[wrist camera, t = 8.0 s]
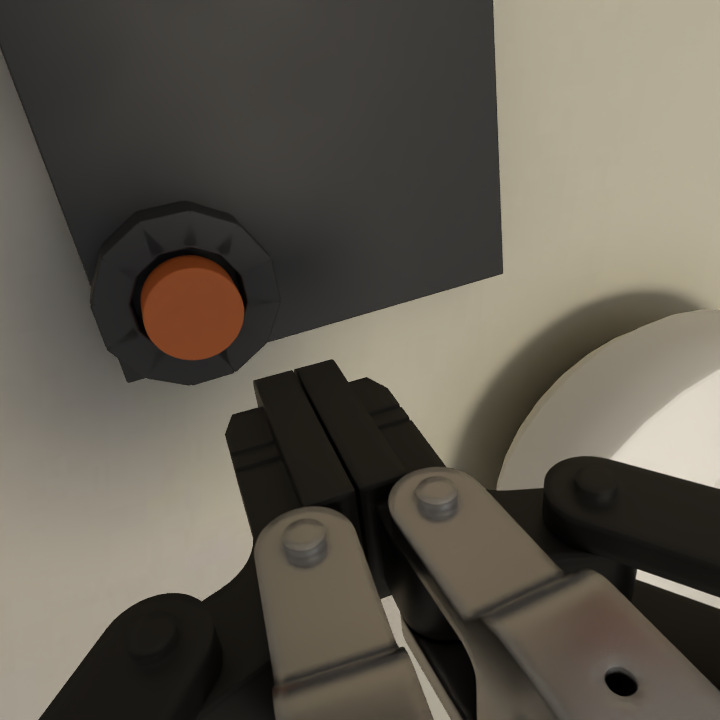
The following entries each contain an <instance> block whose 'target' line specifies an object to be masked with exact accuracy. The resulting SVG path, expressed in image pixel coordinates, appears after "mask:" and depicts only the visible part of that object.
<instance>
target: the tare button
mask: <svg viewBox="0 0 720 720" xmlns="http://www.w3.org/2000/svg"><path fill="white" fill-rule="evenodd" d="M140 303H141V310H142V317H143V323H144V327H145V330H146V332H147V335H148V336H149V338H150V339H151V341H152V342H153V343H154V344H155V345H156V346H157V347H158V348H159V349H160V350H162V351H163V352H164V353H166V354H168V355H170V356H173V357H175V358H179V359H184V360H202V359H206V358H209V357H212V356H215V355H217V354H219V353H220V352H222V351H224V350H225V349H226V348H227V347H229V346H230V345H231V344H232V342H233V341H234V340H235V339H236V337H237V336H238V334H239V332H240V330H241V328H242V325H243V320H244V305H243V301H242V298H241V295H240V293H239V291H238V289H237V288H236V286H235V284H234V282H233V281H232V279H231V277H230V276H229V274H228V273H227V272H226V271H225V270H224V269H223V268H222V267H221V266H220V265H219V264H217V263H216V262H214V261H212V260H210V259H208V258H204V257H201V256H196V255H183V256H177V257H174V258H171V259H168V260H166V261H164V262H163V263H161V264H159V265H158V266H157V267H156V268H155V269H153V271H152V272H151V273H150V274H149V275H148V277H147V278H146V280H145V282H144V284H143V287H142V291H141V298H140Z"/></svg>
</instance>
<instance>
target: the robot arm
mask: <svg viewBox="0 0 720 720" xmlns="http://www.w3.org/2000/svg"><path fill="white" fill-rule="evenodd" d="M253 384H254V390H255V395H256V399H257V403H258V408H255V409H251V410H247V411H244V412H240V413H237V414H233V415H232V417H231V419H230V422H229V425H228V428H227V430H226V433H225V436H226V440H227V444H228V447H229V451H230V455H231V459H232V463H233V466H234V470H235V474H236V478H237V481H238V485H239V489H240V493H241V496H242V500H243V504H244V507H245V511H246V514H247V518H248V522H249V525H250V529H251V533H252V536H253V548H252V552H251V555H250V557H249V559H248V561H247V563H246V564H245V566H244V568H243V569H242V570H241V571H240V572H239V574H238V575H237V576H236V577H235V578H234V579H233V580H232V581H231V582H229V583H228V584H227V585H225V586H224V587H223V588H221V589H220V590H218V591H217V592H215V593H214V594H212V595H211V596H209V597H208V598H206V599H205V600H203V601H200V600H198V599H196V598H195V597H192V596H189V595H186V594H180V593H167V594H161V595H156V596H153V597H150V598H147V599H145V600H142V601H140V602H138V603H136V604H135V605H133V606H131V607H130V608H128V609H127V610H125V611H124V612H123V613H121V614H120V615H119V616H118V617H117V618H116V619H115V620H114V621H113V622H112V623H111V624H110V625H109V627H108V628H107V629H106V630H105V632H104V633H103V634H102V636H101V637H100V638H99V640H98V641H97V642H96V644H95V645H94V646H93V648H92V649H91V650H90V652H89V653H88V654H87V656H86V657H85V658H84V660H83V661H82V662H81V664H80V665H79V666H78V668H77V669H76V670H75V672H74V673H73V674H72V676H71V677H70V678H69V680H68V681H67V682H66V684H65V685H64V686H63V688H62V689H61V690H60V692H59V693H58V694H57V696H56V697H55V698H54V700H53V701H52V702H51V704H50V705H49V706H48V708H47V709H46V710H45V712H44V713H43V714H42V716H41V717H40V718H39V720H434V719H433V716H432V714H431V711H430V708H429V706H428V703H427V701H426V698H425V695H424V693H423V690H422V687H421V685H420V682H419V679H418V677H417V674H416V671H415V669H414V666H413V664H412V661H411V659H410V657H409V655H408V653H407V651H406V650H405V648H404V647H400V648H399V647H398V645H397V643H396V641H395V638H394V636H393V633H392V630H391V627H390V625H389V622H388V619H387V616H386V614H385V611H384V608H383V605H382V603H381V600H380V599H382V598H385V597H387V596H390V595H392V596H393V598H394V600H395V602H396V604H397V606H398V608H399V610H400V615H401V625H402V632H403V636H404V638H405V640H406V643H407V644H408V646H409V648H410V650H411V651H412V653H413V655H414V656H415V658H416V660H417V662H418V663H419V665H420V667H421V669H422V670H423V672H424V674H425V675H426V677H427V679H428V681H429V682H430V684H431V686H432V688H433V689H434V691H435V693H436V695H437V696H438V698H439V700H440V701H441V703H442V705H443V707H444V708H445V710H446V712H447V714H448V715H449V717H450V719H451V720H720V609H719V608H716V607H713V606H710V605H707V604H704V603H702V602H699V601H696V600H693V599H690V598H688V597H685V596H682V595H679V594H676V593H674V592H671V591H668V590H665V589H662V588H659V587H657V586H654V585H651V584H648V583H645V582H643V581H640V580H637V579H636V574H637V569H638V570H641V571H644V572H647V573H650V574H653V575H656V576H659V577H661V578H664V579H667V580H670V581H673V582H676V583H679V584H682V585H684V586H687V587H690V588H693V589H696V590H699V591H702V592H705V593H707V594H710V595H713V596H716V597H719V598H720V489H718V488H714V487H710V486H707V485H703V484H699V483H696V482H692V481H688V480H685V479H681V478H677V477H673V476H670V475H666V474H662V473H659V472H655V471H651V470H648V469H644V468H640V467H636V466H633V465H629V464H625V463H622V462H618V461H614V460H611V459H606V458H602V457H595V456H579V457H572V458H568V459H565V460H562V461H560V462H558V463H557V464H555V465H554V466H553V467H551V468H550V469H549V471H548V472H547V473H546V476H545V478H544V488H534V489H520V490H488V489H485V488H484V487H483V486H482V485H481V484H480V483H479V482H478V481H477V480H476V479H475V478H474V477H472V476H470V475H469V474H467V473H465V472H463V471H460V470H457V469H454V468H448V467H446V466H445V465H444V463H443V462H442V461H441V459H440V458H439V457H438V455H437V454H436V453H435V451H434V450H433V449H432V447H431V446H430V445H429V443H428V442H427V441H426V439H425V438H424V437H423V435H422V434H421V432H420V431H419V430H418V428H417V427H416V426H415V424H414V423H413V422H412V420H409V416H408V415H407V414H406V412H405V411H404V410H403V408H402V407H400V406H399V403H398V402H397V400H396V399H395V398H394V396H393V395H392V394H391V392H390V391H389V390H388V388H386V387H384V386H382V385H380V384H379V383H377V382H375V381H373V380H371V379H369V378H367V377H366V378H362V379H358V380H355V381H351V382H348V381H347V380H346V378H345V376H344V375H343V373H342V372H341V370H340V369H339V367H338V366H337V364H336V363H335V361H334V360H332V359H331V360H328V361H324V362H320V363H316V364H313V365H309V366H305V367H301V368H298V369H295V370H294V372H293V371H292V370H291V371H287V372H283V373H280V374H276V375H272V376H268V377H265V378H261V379H257V380H253Z"/></svg>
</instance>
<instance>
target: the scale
mask: <svg viewBox="0 0 720 720" xmlns="http://www.w3.org/2000/svg"><path fill="white" fill-rule="evenodd" d="M0 48H1V50H2V53H3V56H4V58H5V61H6V63H7V66H8V69H9V71H10V74H11V77H12V79H13V82H14V85H15V87H16V90H17V93H18V95H19V98H20V100H21V103H22V106H23V108H24V111H25V114H26V116H27V119H28V122H29V124H30V127H31V130H32V132H33V135H34V137H35V140H36V143H37V145H38V148H39V151H40V153H41V156H42V159H43V161H44V164H45V167H46V169H47V172H48V174H49V177H50V180H51V182H52V185H53V188H54V190H55V193H56V196H57V198H58V201H59V204H60V206H61V209H62V211H63V214H64V217H65V219H66V222H67V225H68V227H69V230H70V233H71V235H72V238H73V241H74V243H75V246H76V248H77V251H78V254H79V256H80V259H81V262H82V264H83V267H84V270H85V272H86V275H87V278H88V280H89V283H90V285H91V295H90V303H91V310H92V312H93V315H94V318H95V320H96V323H97V325H98V328H99V330H100V333H101V336H102V338H103V341H104V343H105V346H106V347H107V350H108V351H109V352H111V353H112V354H113V355H114V356H116V357H117V358H118V359H119V362H120V365H121V367H122V370H123V373H124V375H125V378H126V381H127V382H128V383H130V382H133V381H137V380H140V379H144V378H147V379H153V380H159V381H165V382H171V383H177V384H183V385H196V384H199V383H202V382H206V381H209V380H212V379H216V378H219V377H222V376H226V375H229V374H232V373H234V371H235V372H236V371H238V370H239V369H240V368H241V367H242V366H243V365H244V364H245V363H246V362H247V361H248V360H249V359H250V358H251V357H252V356H253V355H255V354H256V353H257V352H258V351H259V350H260V349H261V348H262V347H263V346H264V345H265V344H266V343H267V342H270V341H274V340H277V339H281V338H284V337H288V336H291V335H294V334H298V333H301V332H305V331H308V330H312V329H315V328H318V327H322V326H325V325H329V324H332V323H336V322H339V321H342V320H346V319H349V318H353V317H356V316H360V315H363V314H366V313H370V312H373V311H377V310H380V309H384V308H387V307H390V306H394V305H397V304H401V303H404V302H408V301H411V300H414V299H418V298H421V297H425V296H428V295H432V294H435V293H438V292H442V291H445V290H449V289H452V288H456V287H459V286H462V285H466V284H469V283H473V282H476V281H480V280H483V279H486V278H490V277H493V276H497V275H500V274H503V257H502V231H501V204H500V178H499V151H498V124H497V98H496V71H495V45H494V18H493V0H0ZM183 255H196V256H201V257H204V258H208V259H210V260H212V261H214V262H216V263H217V264H219V265H220V266H221V267H222V268H223V269H224V270H225V271H226V272H227V273H228V274H229V276H230V277H231V279H232V281H233V282H234V284H235V286H236V288H237V289H238V291H239V293H240V295H241V298H242V301H243V305H244V320H243V325H242V328H241V330H240V332H239V334H238V336H237V337H236V339H235V340H234V341H233V342H232V344H231V345H230V346H229V347H227V348H226V349H225V350H224V351H222V352H220V353H219V354H217V355H215V356H212V357H209V358H206V359H202V360H184V359H179V358H175V357H173V356H170V355H168V354H166V353H164V352H163V351H162V350H160V349H159V348H158V347H157V346H156V345H155V344H154V343H153V342H152V341H151V339H150V338H149V336H148V335H147V332H146V330H145V327H144V323H143V317H142V310H141V303H140V298H141V291H142V287H143V284H144V282H145V280H146V278H147V277H148V275H149V274H150V273H151V272H152V271H153V269H155V268H156V267H157V266H158V265H159V264H161V263H163V262H164V261H166V260H168V259H171V258H174V257H177V256H183Z"/></svg>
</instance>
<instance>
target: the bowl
mask: <svg viewBox="0 0 720 720" xmlns="http://www.w3.org/2000/svg"><path fill="white" fill-rule="evenodd" d="M579 456H595V457H602V458H606V459H611V460H614V461H618V462H622V463H625V464H629V465H633V466H636V467H640V468H644V469H648V470H651V471H655V472H659V473H662V474H666V475H670V476H673V477H677V478H681V479H685V480H688V481H692V482H696V483H699V484H703V485H707V486H710V487H714V488H718V489H720V310H709V309H703V310H697V311H691V312H685V313H679V314H673V315H670V316H668V317H665V318H663V319H660V320H657V321H655V322H652V323H650V324H647V325H644V326H642V327H639V328H637V329H636V330H634V331H632V332H629V333H626V334H624V335H621V336H619V337H616V338H614V339H612V340H611V341H609V342H607V343H606V344H604V345H602V346H601V347H599V348H597V349H596V350H594V351H592V352H590V353H589V354H587V355H586V356H585V357H584V358H582V359H581V360H580V361H579V362H577V363H576V364H575V365H574V366H573V367H571V368H570V369H569V370H568V371H566V372H565V373H564V374H563V375H562V376H561V377H560V378H559V379H558V380H557V381H556V382H555V383H554V384H553V385H552V386H551V387H550V388H549V390H548V391H547V392H546V393H545V394H544V395H543V396H542V397H541V398H540V399H539V400H538V402H537V403H536V405H535V406H534V408H533V409H532V410H531V412H530V413H529V415H528V416H527V418H526V419H525V420H524V422H523V423H522V425H521V426H520V428H519V430H518V432H517V434H516V436H515V438H514V440H513V442H512V444H511V446H510V448H509V450H508V452H507V454H506V456H505V459H504V462H503V466H502V469H501V472H500V475H499V478H498V482H497V488H496V490H520V489H534V488H544V478H545V476H546V473H547V472H548V471H549V469H550V468H551V467H553V466H554V465H555V464H557V463H558V462H560V461H562V460H565V459H568V458H572V457H579ZM636 579H637V580H640V581H643V582H645V583H648V584H651V585H654V586H657V587H659V588H662V589H665V590H668V591H671V592H674V593H676V594H679V595H682V596H685V597H688V598H690V599H693V600H696V601H699V602H702V603H704V604H707V605H710V606H713V607H716V608H719V609H720V598H719V597H716V596H713V595H710V594H707V593H705V592H702V591H699V590H696V589H693V588H690V587H687V586H684V585H682V584H679V583H676V582H673V581H670V580H667V579H664V578H661V577H659V576H656V575H653V574H650V573H647V572H644V571H641V570H638V569H637V574H636Z"/></svg>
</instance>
